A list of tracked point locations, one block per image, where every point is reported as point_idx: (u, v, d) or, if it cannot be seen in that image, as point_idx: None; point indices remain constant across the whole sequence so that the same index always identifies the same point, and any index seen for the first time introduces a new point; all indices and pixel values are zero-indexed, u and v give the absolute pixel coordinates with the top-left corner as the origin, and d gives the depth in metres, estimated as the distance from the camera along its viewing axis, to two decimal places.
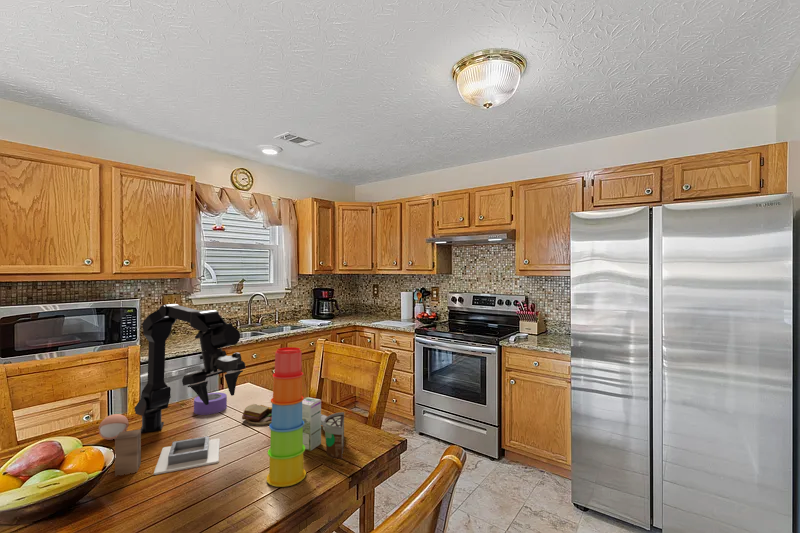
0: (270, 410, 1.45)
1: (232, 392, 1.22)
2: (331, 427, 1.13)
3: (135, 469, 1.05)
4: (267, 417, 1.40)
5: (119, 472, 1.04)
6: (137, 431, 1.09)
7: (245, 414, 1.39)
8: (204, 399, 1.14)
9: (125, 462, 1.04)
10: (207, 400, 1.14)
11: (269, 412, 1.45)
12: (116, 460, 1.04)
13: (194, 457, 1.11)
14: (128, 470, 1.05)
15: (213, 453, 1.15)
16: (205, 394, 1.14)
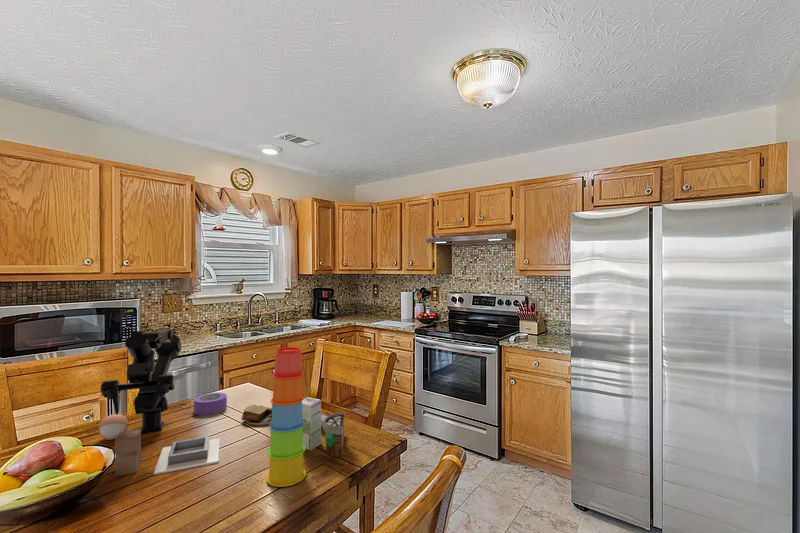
0: (270, 410, 1.45)
1: (152, 405, 1.16)
2: (331, 427, 1.13)
3: (135, 469, 1.05)
4: (267, 418, 1.40)
5: (119, 472, 1.04)
6: (137, 431, 1.09)
7: (245, 415, 1.39)
8: None
9: (125, 462, 1.04)
10: (116, 408, 1.13)
11: (268, 413, 1.45)
12: (116, 460, 1.04)
13: (194, 457, 1.11)
14: (128, 470, 1.05)
15: (213, 453, 1.15)
16: (114, 402, 1.13)
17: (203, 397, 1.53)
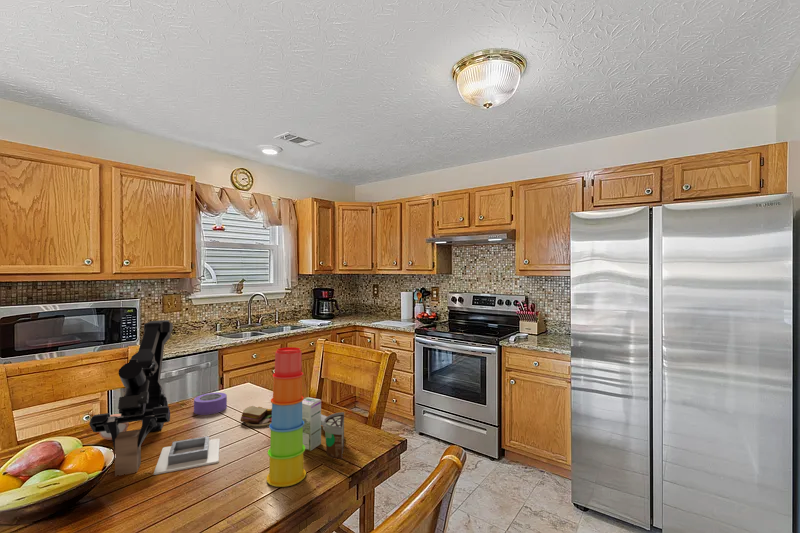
0: (268, 412, 1.44)
1: (138, 442, 1.07)
2: (331, 427, 1.13)
3: (135, 469, 1.05)
4: (267, 419, 1.39)
5: (119, 472, 1.04)
6: (137, 431, 1.09)
7: (244, 416, 1.37)
8: (113, 443, 1.05)
9: (125, 462, 1.04)
10: (114, 444, 1.05)
11: (267, 414, 1.44)
12: (116, 460, 1.04)
13: (194, 457, 1.11)
14: (128, 470, 1.05)
15: (213, 453, 1.15)
16: (113, 437, 1.05)
17: (203, 397, 1.53)
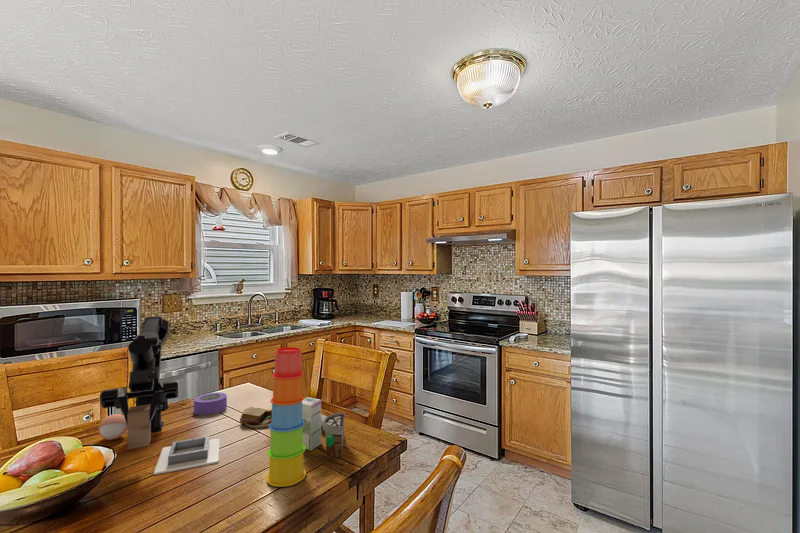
0: (268, 412, 1.43)
1: None
2: (331, 427, 1.13)
3: (147, 442, 1.07)
4: (267, 420, 1.38)
5: (132, 445, 1.05)
6: (148, 405, 1.10)
7: (243, 417, 1.36)
8: None
9: (138, 435, 1.06)
10: (126, 418, 1.05)
11: (267, 414, 1.43)
12: (129, 433, 1.04)
13: (194, 457, 1.11)
14: (140, 443, 1.06)
15: (213, 453, 1.15)
16: (124, 411, 1.06)
17: (203, 397, 1.53)
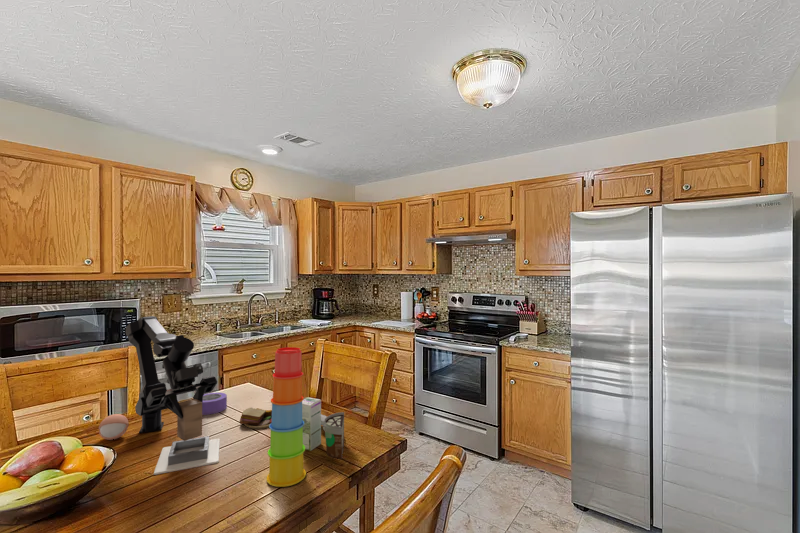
0: (267, 413, 1.42)
1: None
2: (331, 427, 1.13)
3: (200, 432, 1.15)
4: (267, 420, 1.37)
5: (188, 437, 1.12)
6: (195, 400, 1.17)
7: (243, 418, 1.36)
8: (178, 412, 1.12)
9: (193, 427, 1.13)
10: (180, 412, 1.12)
11: (266, 415, 1.43)
12: (185, 426, 1.11)
13: (194, 457, 1.11)
14: (195, 434, 1.14)
15: (213, 453, 1.15)
16: (177, 406, 1.12)
17: (203, 397, 1.53)
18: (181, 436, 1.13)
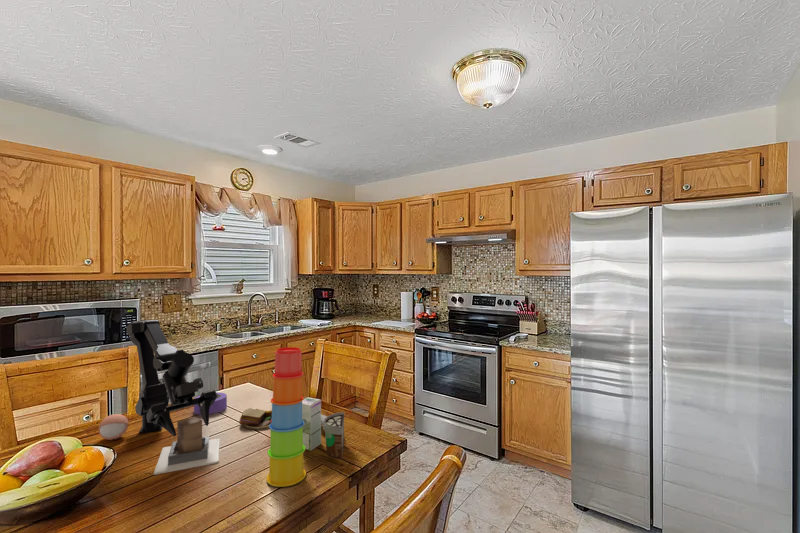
0: (267, 413, 1.42)
1: (206, 422, 1.18)
2: (331, 427, 1.13)
3: None
4: (266, 421, 1.37)
5: None
6: (195, 417, 1.17)
7: (243, 419, 1.35)
8: (170, 430, 1.10)
9: (193, 445, 1.13)
10: (173, 430, 1.10)
11: (266, 416, 1.42)
12: (185, 445, 1.11)
13: (194, 457, 1.11)
14: None
15: (213, 453, 1.15)
16: (170, 424, 1.11)
17: None
18: None
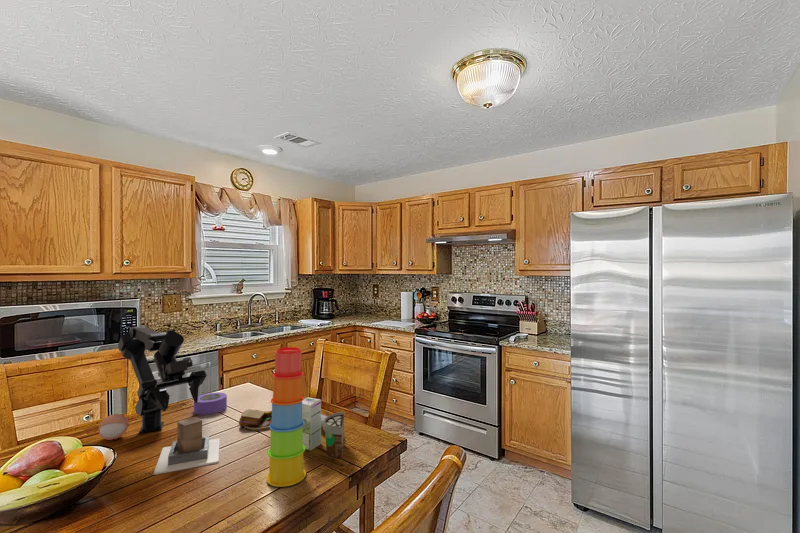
0: (266, 414, 1.41)
1: (195, 399, 1.22)
2: (331, 427, 1.13)
3: None
4: (266, 421, 1.36)
5: None
6: (195, 417, 1.17)
7: (242, 420, 1.34)
8: (160, 405, 1.15)
9: (193, 445, 1.13)
10: (163, 405, 1.15)
11: (265, 416, 1.41)
12: (185, 445, 1.11)
13: (194, 457, 1.11)
14: None
15: (213, 453, 1.15)
16: (160, 400, 1.15)
17: (203, 397, 1.53)
18: None
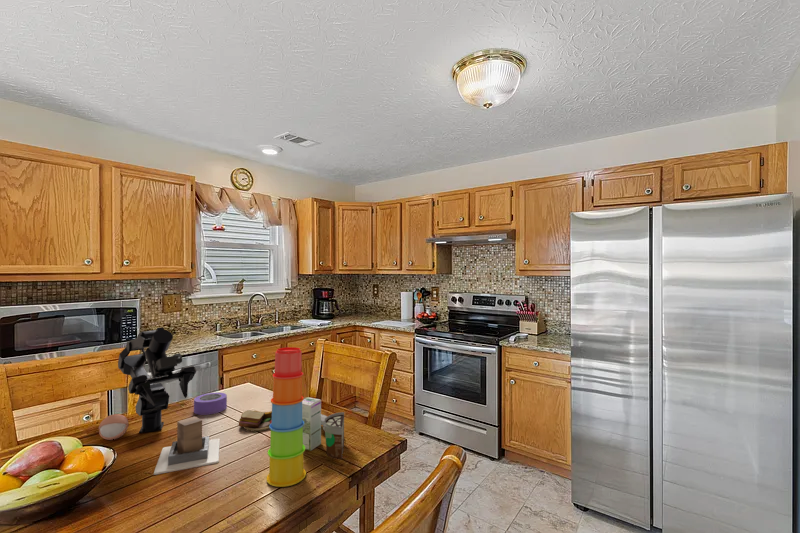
0: (266, 415, 1.41)
1: (185, 394, 1.27)
2: (331, 427, 1.13)
3: None
4: (266, 422, 1.36)
5: None
6: (195, 417, 1.17)
7: (242, 421, 1.33)
8: (150, 400, 1.19)
9: (193, 445, 1.13)
10: (153, 400, 1.19)
11: (265, 417, 1.41)
12: (185, 445, 1.11)
13: (194, 457, 1.11)
14: None
15: (213, 453, 1.15)
16: (150, 394, 1.20)
17: (203, 397, 1.53)
18: None
